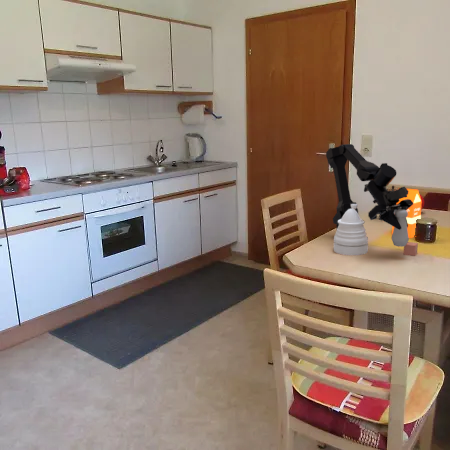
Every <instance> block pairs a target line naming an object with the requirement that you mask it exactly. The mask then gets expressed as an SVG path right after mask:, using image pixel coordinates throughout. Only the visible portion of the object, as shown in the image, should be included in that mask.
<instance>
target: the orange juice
mask: <svg viewBox="0 0 450 450" xmlns="http://www.w3.org/2000/svg"><path fill="white" fill-rule="evenodd" d="M406 189H407V190H408V191H409V192H408V195H407V197H406V198H405V197H404V198H402V199H399V200H400V201H402V200H405V199H411V201H412V202H413V205H412V206H411V207H410V208H408V209H407V210H406V211H407V212H408V216H407V217H406V219H407V223H408V227H407V230H408V237H409V239H412V238H415V237H414V235H415V228H416V220H417V219H422V210H421V203H422V201H421V198H420V195H421V194H420V192H419V189H413V188H406ZM419 194H420V195H419ZM400 201H399V202H400ZM399 202H398V203H399ZM398 203H396V204H398ZM391 227H392V230H391V235H392V234H393V230H394V226H392V225H391Z"/></svg>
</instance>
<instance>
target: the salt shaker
mask: <svg viewBox="0 0 450 450" xmlns="http://www.w3.org/2000/svg"><path fill="white" fill-rule="evenodd" d="M395 216H396V217H397V220H398V222H399V224H400V225H401V229H400V230H399V229H397V228H395V227H394V230H393V234H392V233H391V240H392V244H393V246H394V247H395V246H396V247H401V248H402V247H403V248H404V246H406V244H407V242H409V239H410V238H409V237H408V230H407V222H406V217H407V216H408V212H407V211H406V210H402V209H399V210H396V211H395Z"/></svg>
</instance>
